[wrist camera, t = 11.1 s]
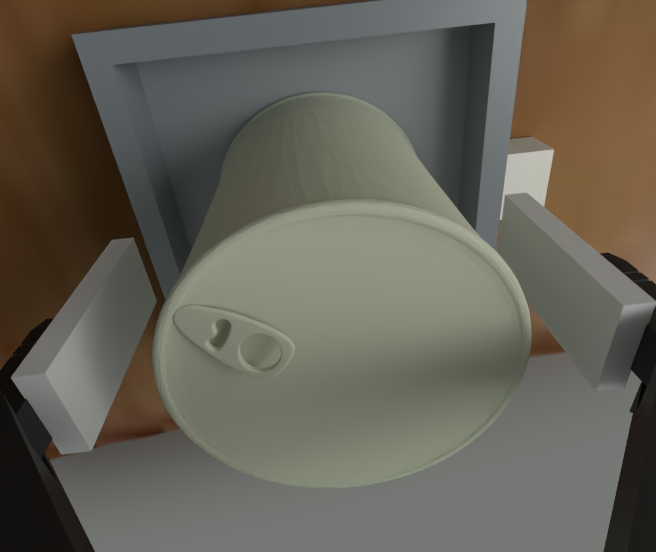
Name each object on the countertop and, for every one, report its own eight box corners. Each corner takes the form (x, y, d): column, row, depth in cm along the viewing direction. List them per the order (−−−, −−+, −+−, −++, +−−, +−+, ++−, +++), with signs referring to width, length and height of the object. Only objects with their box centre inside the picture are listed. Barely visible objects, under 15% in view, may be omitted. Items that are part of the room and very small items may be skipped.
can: (273, 45, 17) (242, 116, 7) (461, 156, 20) (633, 321, 10) (190, 236, 21) (93, 456, 11) (355, 306, 24) (400, 533, 14)
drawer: (200, 332, 25) (190, 370, 22) (104, 29, 17) (71, 34, 14) (508, 297, 25) (532, 331, 23) (555, -21, 17) (601, -24, 15)
